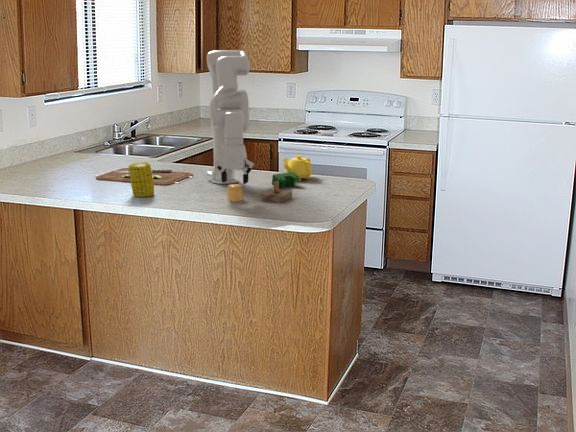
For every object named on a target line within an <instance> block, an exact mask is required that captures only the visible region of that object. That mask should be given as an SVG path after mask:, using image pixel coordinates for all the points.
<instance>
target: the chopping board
mask: <svg viewBox="0 0 576 432" xmlns="http://www.w3.org/2000/svg"><path fill="white" fill-rule="evenodd" d="M151 171H152V178H153V183H154V186H163V187H166V186H167V187H168V186H172V185H174V184H177V185H179V184H181V183H184V182H187V181H189V180H191V179H194V178H195V176H193V175H194V174H193V172H192V173H191V172H185V171H182V172H181V171H173V170H172V169H151ZM94 177H95V179H96V180H98V181H108V182H119V183H129V184H131V181H130V173H129V167H122V168H119V169H112V170H108V171H106V172H104V173H100V174H97V175H95V176H94Z"/></svg>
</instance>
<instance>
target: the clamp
mask: <svg viewBox="0 0 576 432" xmlns="http://www.w3.org/2000/svg"><path fill="white" fill-rule="evenodd" d="M271 178H272V180H271V185H272V187H274V182H275V181H278V182H279V188H280V186H281V188H282V189H285V188H286V187H287V185H289V186H290V187H292V188H294V187H295V183H296V182H299V181H298V180H299V176H298V175H297V174H295V173H294V172H290V173H286V172H284V173H283V172H282V173H277V174H272V177H271Z"/></svg>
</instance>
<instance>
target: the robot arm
mask: <svg viewBox="0 0 576 432" xmlns="http://www.w3.org/2000/svg"><path fill="white" fill-rule="evenodd" d="M206 64H207V69H208V72H209V73H210V76H211V80H212V97H210V98H211V99H210V101H209V102H210V103H209V118H210V127H211V132H212V140H213V141H212V142H213V144H212V145H213V146H212V147H213V149H212V150H213V171H207V172H206V176H207V177H211V178H210V182H211V183H214V184H216V185H217V184H218V185H227V184H228V185H231V184H236V183H238V181H239V178H238V177H236V175H235V171H242V172H243V174H242V183H243V184H247V183H249V173H251V171H252V170H253V168H254V166H255V163H254V162H252V161H250V160H249V159H248V156H247V150H246V145H245V144H244V134H247V133H248V132H249V129H250V110H249V108H250V107H249V106H250V105H249V96H248V93H247V91H246V90H245V89H242V88H241V89H240V88H239V84H238V77H239V76H248V75H249V73H250V70H251V69H250V68H251V67H250V66H251V64H250V60H249V58H248V56H247V53H246V52H245V51H244V50H241V49H240V50H239V49H235V50H233V49H229V50H228V49H219V50H218V49H216V50H211V51H209V52H207V54H206Z"/></svg>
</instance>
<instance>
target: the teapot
mask: <svg viewBox="0 0 576 432" xmlns="http://www.w3.org/2000/svg"><path fill="white" fill-rule="evenodd" d="M283 162H284V163H283V164H282V166H283V167H284V168H285V173H290V172H294V173H295V174H297V175H298V176H299V180H298V181H297V182H301V181H302V179H304V180H310V176H312V174H313V169H312V164H311V162H312V161H311V159H310V158H308V157H303V156H302V155H296V157H292V158H291V159H290V160H289V159H288V158H287V157H286V158H284V159H283Z"/></svg>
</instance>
